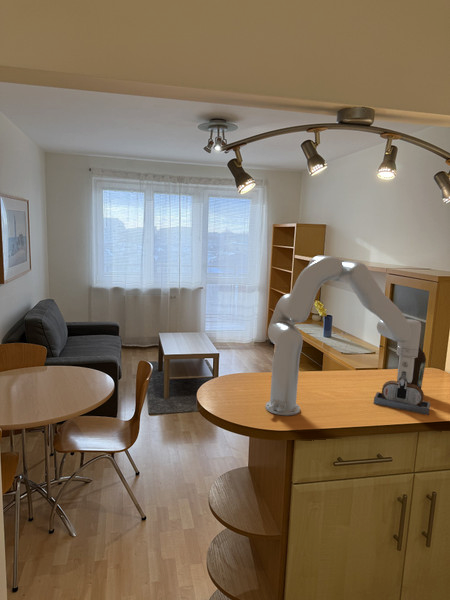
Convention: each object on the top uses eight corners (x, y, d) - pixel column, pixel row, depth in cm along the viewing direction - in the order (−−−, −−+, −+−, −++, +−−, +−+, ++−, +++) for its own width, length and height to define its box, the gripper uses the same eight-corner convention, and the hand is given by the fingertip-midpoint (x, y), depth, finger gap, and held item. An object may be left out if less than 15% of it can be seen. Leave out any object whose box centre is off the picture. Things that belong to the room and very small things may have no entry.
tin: (422, 407, 164) (425, 385, 163) (422, 409, 162) (424, 388, 160) (381, 398, 171) (383, 378, 170) (380, 400, 168) (382, 380, 167)
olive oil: (392, 393, 180) (399, 335, 177) (396, 387, 189) (403, 331, 186) (420, 399, 175) (427, 340, 172) (423, 392, 184) (429, 335, 181)
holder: (428, 415, 159) (429, 408, 159) (373, 403, 168) (374, 397, 168) (429, 408, 166) (430, 402, 165) (376, 397, 175) (377, 391, 174)
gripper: (416, 358, 154) (410, 403, 157) (419, 348, 170) (414, 390, 172) (394, 354, 158) (389, 399, 160) (399, 345, 173) (394, 386, 175)
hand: (402, 394), depth 166 cm, fingers open, 9 cm apart
